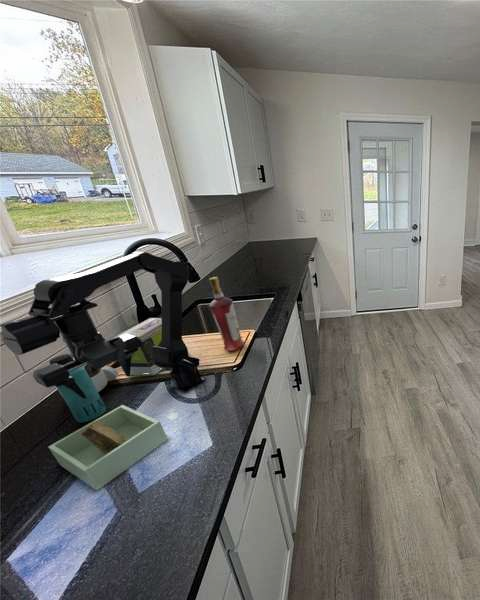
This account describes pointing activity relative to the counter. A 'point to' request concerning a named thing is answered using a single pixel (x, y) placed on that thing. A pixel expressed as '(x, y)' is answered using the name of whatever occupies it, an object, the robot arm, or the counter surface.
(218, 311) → the liquor
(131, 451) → the shallow rectangular tray
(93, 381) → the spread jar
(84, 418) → the beverage bottle
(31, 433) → the counter surface
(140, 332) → the tea box
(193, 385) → the robot arm
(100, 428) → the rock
